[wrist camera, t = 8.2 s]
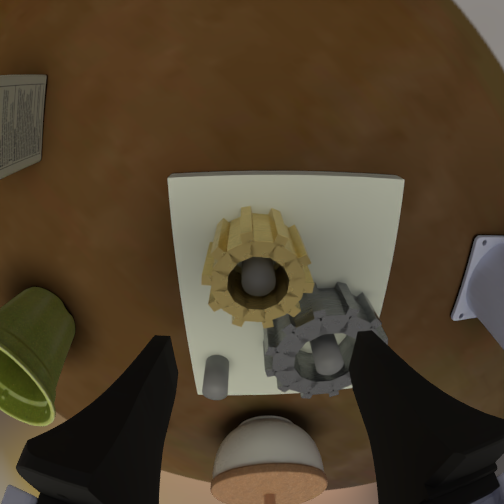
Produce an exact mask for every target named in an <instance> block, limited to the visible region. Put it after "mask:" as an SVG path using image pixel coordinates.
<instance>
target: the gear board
mask: <svg viewBox="0 0 504 504" xmlns="http://www.w3.org/2000/svg"><path fill="white" fill-rule="evenodd" d="M403 189H404V179H402V178H400V177H399V176H397V175H385V174H369V173H350V172H323V171H221V172H194V173H175V174H171V175H170V176H169V177H168V190H169V201H170V212H171V222H172V231H173V240H174V249H175V257H176V265H177V273H178V280H179V287H180V294H181V301H182V308H183V314H184V321H185V327H186V333H187V339H188V345H189V350H190V356H191V362H192V367H193V372H194V377H195V382H196V388H197V392H198V394H200V395H204V396H205V397H207V398H209V399H212V400H221V399H224V398H225V397H226V396H227V395H266V394H288V393H300V392H297V391H293V390H290V389H289V390H288V391H286V392H285V393H284V392H282V391H281V390H279V389H278V388H277V378H276V377H275V376H271V377H267V375H266V372H265V366H264V351H263V341H264V332H263V325H262V322H251V321H245V322H244V323H243V325H242V327H239V326H236V325H233V324H232V315H230V314H228V313H227V312H225V311H223V309H219V310H217V311H215V312H214V311H213V310H212V309H211V307H210V306H209V305H208V301H209V296H210V290H211V286H209V285H201V281H202V272H203V267H204V263H205V259H206V255H207V251H208V247H209V243H210V242H213V240H214V236H215V231H216V227H217V224H218V223H219V222H220V221H221V220H222V219H223V218H224V219H225V220H227V221H228V222H230V221H232V220H234V219H236V218H238V217H241V208H242V207H247V206H251V210H252V213H257V214H269V211H270V209H271V208H273V209H276V210H278V211H280V212H281V215H282V219H283V222H284V224H285V225H286V226H287V227H288V228H289V227H291V226H293V225H294V224H295V226H296V227H297V229H298V231H299V233H300V236H301V238H302V241H303V243H304V246H305V248H306V251H307V253H308V256H309V258H310V261H311V264H309V265H308V268H309V270H310V273H311V276H312V279H313V281H314V283H316V285H317V288H334V287H335V285H336V283H337V282H341V283H346V284H347V286H348V288H349V290H350V292H351V294H353V295H355V296H356V297H357V296H358V295H359V294H360V293H362V292H363V293H364V294H365V296H366V297H367V298H368V299H369V301H370V303H371V305H372V307H373V308H374V310H375V312H376V314H377V316H378V317H380V313H381V309H382V305H383V301H384V296H385V292H386V288H387V283H388V278H389V274H390V269H391V264H392V259H393V254H394V248H395V243H396V237H397V231H398V225H399V218H400V211H401V204H402V197H403ZM275 263H276V261H274V260H273V259H271V258H264V257H251V258H249V259H246V260H244V261H241V262H239V263H237V266H239V267H241V268H242V280H241V283H242V287H243V289H244V290H245V291H246V292H247V293H248V294H250V295H253V296H264V295H266V294H268V293H270V292H271V291H272V290H273V289H274V287H275V284H276V278H275V272H274V266H273V265H274V264H275ZM346 336H347V335H346V334H343V333H336V334H323V335H321V336H319V337H317V338H315V339H313V340H311V341H309V342H306V343H305V345H304V346H303V347H302V348H301V349H300V350H302V351H304V352H307V353H312V354H313V358H314V362H315V366H316V370H317V372H318V373H319V374H321V375H332V374H335V373H337V372H338V371H339V370H341V368H342V367H343V364H344V362H343V358H342V355H341V352H340V349H339V347H338V345H339V344H340V343H341V341H342V340H343V339H344V338H345V337H346ZM347 388H352V385H350V386H347V387H345V388H343V389H347Z"/></svg>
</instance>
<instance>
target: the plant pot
mask: <svg viewBox="0 0 504 504" xmlns="http://www.w3.org/2000/svg"><path fill="white" fill-rule="evenodd" d="M74 335H75V323H74V320H73V317H72V315H70V314H69V313H68V312H67V310H66V308H65V307H64V305H63V302H62V301H61V300H60V299H59V298H58V297H57V296H56V295H54V294H53V293H51V292H50V291H48V290H46V289H43V288H40V287H31V288H28V289H26V290H24V291H22V292H21V293H20V294H18V295H17V296H16V297H14V298H13V299H12V300H10V301H9V302H8V303H7V304H5V305H4V306H3V307H1V308H0V410H2V411H3V412H4V413H6V414H8V415H10V416H11V417H13V418H15V419H17V420H19V421H21V422H24V423H27V424H30V425H35V426H47V425H49V424H50V423H52V422H53V420H54V418H55V413H56V412H55V406H54V401H55V396H56V391H55V389H56V386H57V382H58V379H59V376H60V373H61V370H62V367H63V365H64V362H65V359H66V356H67V353H68V351H69V348H70V346H71V343H72V340H73V338H74Z"/></svg>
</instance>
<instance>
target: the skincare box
mask: <svg viewBox="0 0 504 504" xmlns="http://www.w3.org/2000/svg"><path fill="white" fill-rule="evenodd" d="M46 78H47V76H46V75H0V179H2V178H4V177H6V176H8V175H10V174H13V173H15V172H17V171H19V170H21V169H23V168H25V167H28V166H30V165H32V164H35V163H37V162H39V161H40V160H41V150H42V129H43V114H44V100H45V88H46Z"/></svg>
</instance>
